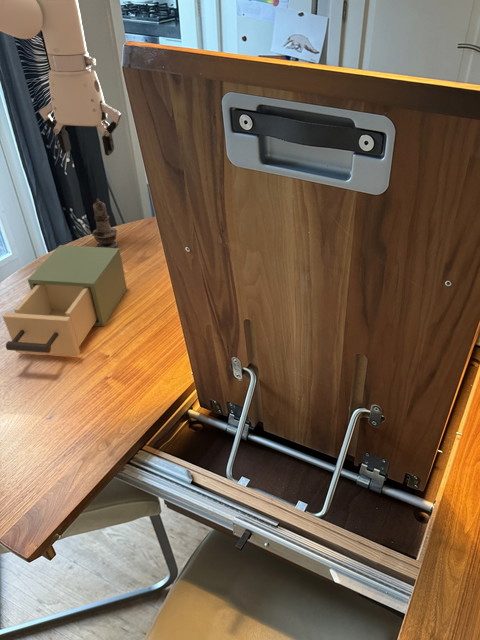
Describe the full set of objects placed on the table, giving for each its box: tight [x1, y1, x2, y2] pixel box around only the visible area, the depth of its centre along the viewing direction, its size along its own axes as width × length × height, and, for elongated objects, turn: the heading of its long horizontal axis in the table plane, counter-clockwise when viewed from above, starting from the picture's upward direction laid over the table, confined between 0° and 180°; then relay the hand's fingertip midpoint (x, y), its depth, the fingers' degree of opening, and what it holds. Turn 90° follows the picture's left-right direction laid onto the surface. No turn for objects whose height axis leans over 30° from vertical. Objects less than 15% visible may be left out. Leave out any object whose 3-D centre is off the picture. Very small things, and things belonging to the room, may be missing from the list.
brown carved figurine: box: [91, 198, 119, 248], centre depth 124 cm, size 6×6×12 cm
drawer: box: [2, 284, 98, 358], centre depth 93 cm, size 18×11×8 cm, turn 175°
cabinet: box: [27, 244, 128, 327], centre depth 104 cm, size 15×13×10 cm
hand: (88, 152), depth 114 cm, fingers open, 9 cm apart
